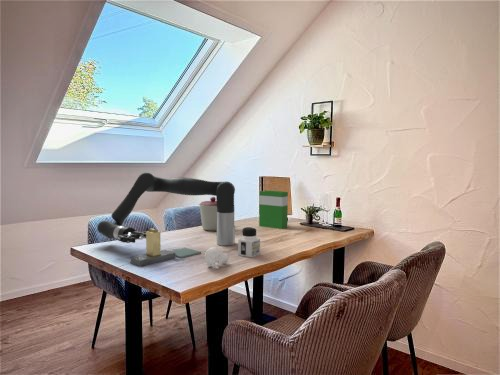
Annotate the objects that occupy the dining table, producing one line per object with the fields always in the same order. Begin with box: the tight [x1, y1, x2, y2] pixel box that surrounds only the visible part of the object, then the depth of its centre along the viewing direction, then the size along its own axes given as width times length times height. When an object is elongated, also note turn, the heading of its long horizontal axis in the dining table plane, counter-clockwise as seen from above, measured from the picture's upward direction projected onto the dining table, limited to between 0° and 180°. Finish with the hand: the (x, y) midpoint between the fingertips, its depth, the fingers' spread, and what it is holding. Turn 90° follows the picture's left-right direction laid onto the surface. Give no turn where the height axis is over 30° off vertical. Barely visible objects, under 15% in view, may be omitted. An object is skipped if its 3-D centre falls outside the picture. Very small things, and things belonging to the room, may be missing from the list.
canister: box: [198, 196, 217, 232], centre depth 232 cm, size 18×18×21 cm
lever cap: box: [145, 227, 162, 257], centre depth 160 cm, size 4×5×14 cm
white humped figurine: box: [204, 246, 230, 270], centre depth 153 cm, size 6×8×12 cm
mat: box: [170, 247, 202, 259], centre depth 173 cm, size 12×12×1 cm
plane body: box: [129, 249, 176, 267], centre depth 160 cm, size 18×8×2 cm, turn 139°
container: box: [237, 226, 261, 258], centre depth 171 cm, size 8×8×13 cm
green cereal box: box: [258, 189, 289, 230], centre depth 243 cm, size 18×7×24 cm, turn 56°
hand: (143, 238), depth 165 cm, fingers open, 8 cm apart
